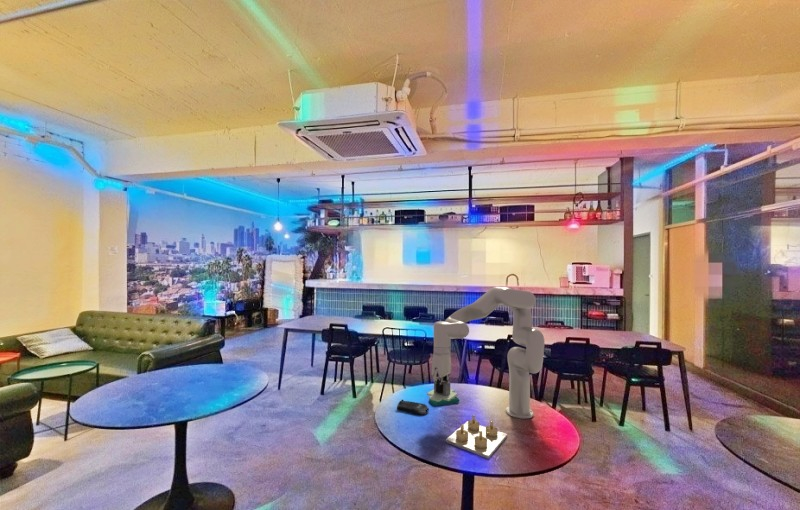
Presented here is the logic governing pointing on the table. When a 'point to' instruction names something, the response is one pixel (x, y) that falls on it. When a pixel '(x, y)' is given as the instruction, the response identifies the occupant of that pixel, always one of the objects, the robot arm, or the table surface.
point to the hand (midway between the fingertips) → (442, 390)
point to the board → (439, 397)
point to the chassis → (477, 438)
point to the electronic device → (412, 407)
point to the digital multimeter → (444, 401)
